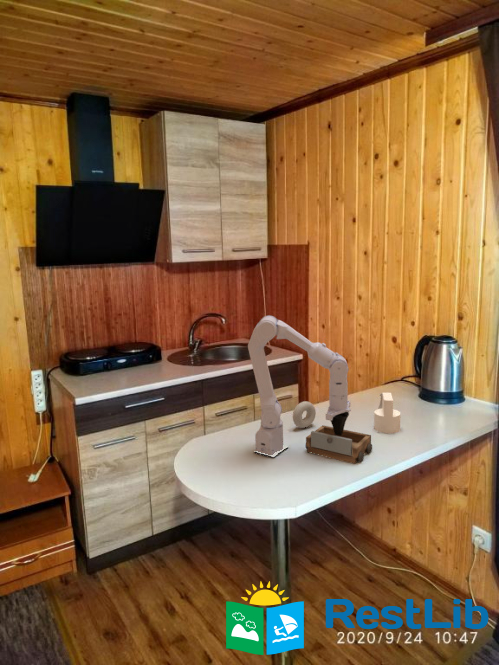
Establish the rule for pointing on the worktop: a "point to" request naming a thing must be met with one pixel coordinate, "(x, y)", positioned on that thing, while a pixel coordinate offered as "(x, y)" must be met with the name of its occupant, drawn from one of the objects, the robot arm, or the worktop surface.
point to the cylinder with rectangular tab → (387, 416)
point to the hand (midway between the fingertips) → (338, 434)
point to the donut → (299, 411)
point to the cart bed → (359, 440)
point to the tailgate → (331, 443)
